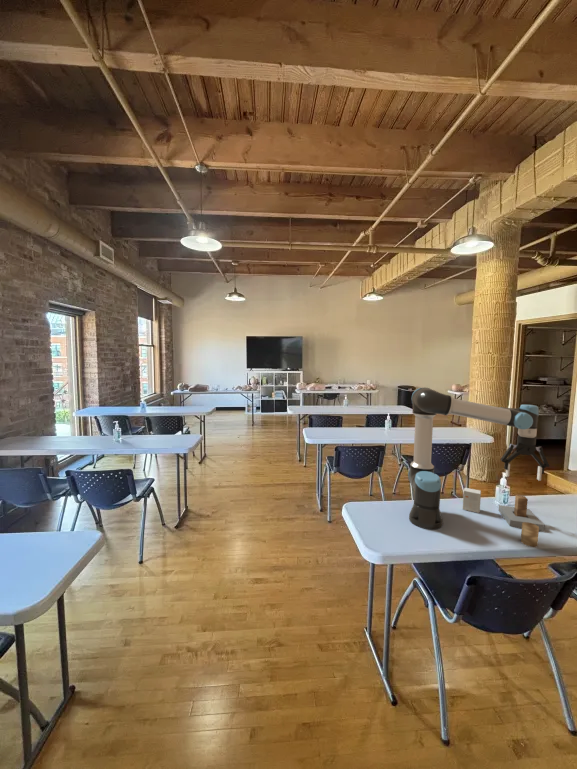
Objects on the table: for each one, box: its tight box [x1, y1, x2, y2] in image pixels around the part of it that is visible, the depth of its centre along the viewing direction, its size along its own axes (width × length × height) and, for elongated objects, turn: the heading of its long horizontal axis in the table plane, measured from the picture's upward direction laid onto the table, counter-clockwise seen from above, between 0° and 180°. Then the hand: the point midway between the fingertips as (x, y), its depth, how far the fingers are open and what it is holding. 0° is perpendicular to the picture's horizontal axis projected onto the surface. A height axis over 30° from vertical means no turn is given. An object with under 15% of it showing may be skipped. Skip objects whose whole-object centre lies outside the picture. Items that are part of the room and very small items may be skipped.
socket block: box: [498, 504, 545, 532], centre depth 170 cm, size 14×18×3 cm
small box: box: [462, 487, 482, 514], centre depth 180 cm, size 8×6×10 cm
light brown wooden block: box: [520, 522, 540, 548], centre depth 148 cm, size 6×6×8 cm
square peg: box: [514, 494, 529, 517], centre depth 169 cm, size 4×4×12 cm
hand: (522, 477), depth 168 cm, fingers open, 13 cm apart
